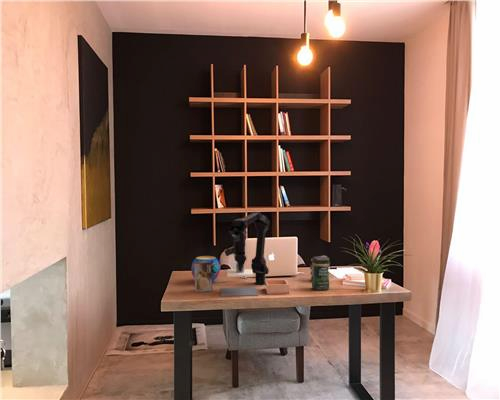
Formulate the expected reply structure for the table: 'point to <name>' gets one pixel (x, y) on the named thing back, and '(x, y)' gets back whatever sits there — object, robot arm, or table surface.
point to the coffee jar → (320, 273)
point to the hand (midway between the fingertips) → (239, 270)
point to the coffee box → (203, 276)
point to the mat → (239, 291)
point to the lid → (239, 272)
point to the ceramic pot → (214, 265)
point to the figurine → (313, 269)
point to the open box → (276, 287)
